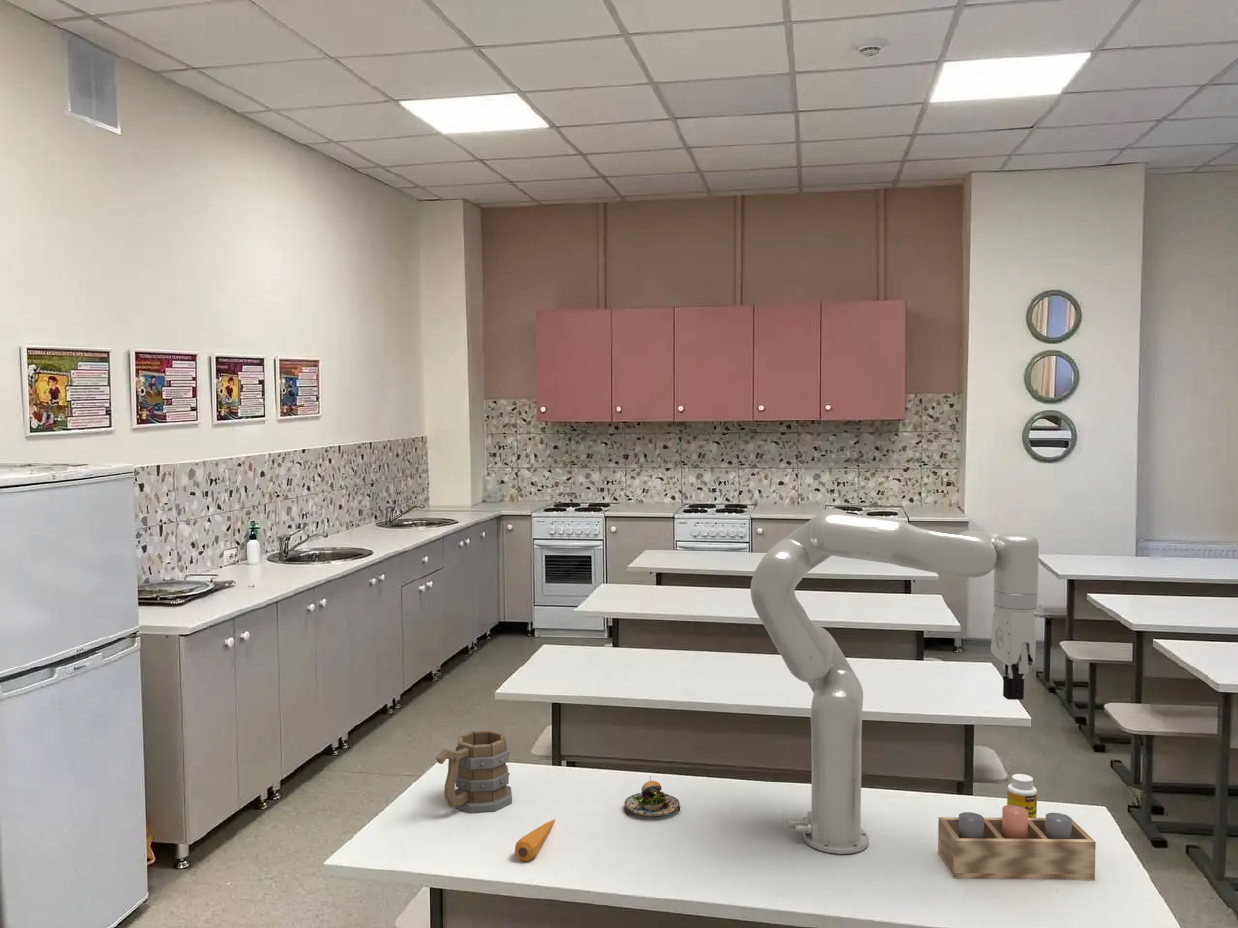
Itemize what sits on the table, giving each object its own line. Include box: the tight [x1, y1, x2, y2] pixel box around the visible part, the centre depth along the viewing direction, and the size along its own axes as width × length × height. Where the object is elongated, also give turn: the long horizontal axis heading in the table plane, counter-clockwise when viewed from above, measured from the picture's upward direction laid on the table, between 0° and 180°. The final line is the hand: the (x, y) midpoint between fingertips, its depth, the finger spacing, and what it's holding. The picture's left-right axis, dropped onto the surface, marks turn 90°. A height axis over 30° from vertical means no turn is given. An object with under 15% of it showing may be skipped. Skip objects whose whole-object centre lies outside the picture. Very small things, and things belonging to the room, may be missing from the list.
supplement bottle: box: [1006, 773, 1038, 818], centre depth 195 cm, size 6×6×10 cm
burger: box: [624, 777, 681, 817], centre depth 204 cm, size 12×12×8 cm
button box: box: [937, 816, 1097, 881], centre depth 178 cm, size 25×10×7 cm, turn 89°
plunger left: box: [958, 811, 985, 839], centre depth 178 cm, size 4×4×7 cm
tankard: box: [435, 729, 513, 814], centre depth 205 cm, size 20×13×15 cm, turn 144°
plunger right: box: [1045, 812, 1073, 839], centre depth 178 cm, size 4×4×7 cm
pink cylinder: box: [1001, 804, 1028, 839], centre depth 178 cm, size 4×4×7 cm
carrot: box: [514, 818, 556, 862], centre depth 190 cm, size 20×4×4 cm, turn 166°
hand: (1013, 697), depth 178 cm, fingers closed
